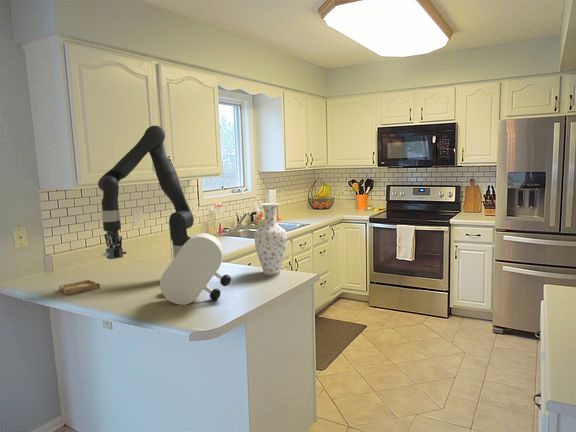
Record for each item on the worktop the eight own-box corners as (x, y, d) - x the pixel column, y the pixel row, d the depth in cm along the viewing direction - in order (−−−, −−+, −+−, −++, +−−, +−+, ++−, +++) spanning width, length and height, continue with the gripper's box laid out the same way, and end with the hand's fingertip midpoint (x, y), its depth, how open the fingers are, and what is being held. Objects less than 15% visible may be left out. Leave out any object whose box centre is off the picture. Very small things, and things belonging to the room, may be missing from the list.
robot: (246, 259, 186) (198, 225, 183) (244, 264, 177) (195, 229, 174) (204, 314, 188) (157, 282, 186) (201, 322, 180) (152, 288, 177)
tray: (99, 288, 204) (99, 283, 204) (67, 295, 194) (67, 290, 194) (90, 283, 212) (90, 279, 212) (59, 290, 202) (59, 285, 202)
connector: (128, 256, 207) (127, 246, 206) (105, 260, 199) (104, 250, 199) (124, 255, 210) (123, 245, 209) (101, 259, 202) (101, 249, 202)
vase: (271, 267, 234) (268, 201, 229) (294, 272, 224) (292, 203, 219) (249, 274, 222) (246, 204, 217) (272, 279, 212) (270, 206, 207)
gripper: (126, 220, 200) (129, 257, 202) (112, 217, 210) (116, 253, 212) (110, 222, 194) (113, 260, 197) (96, 219, 204) (100, 256, 207)
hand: (114, 256), depth 204 cm, fingers closed on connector, 4 cm apart
